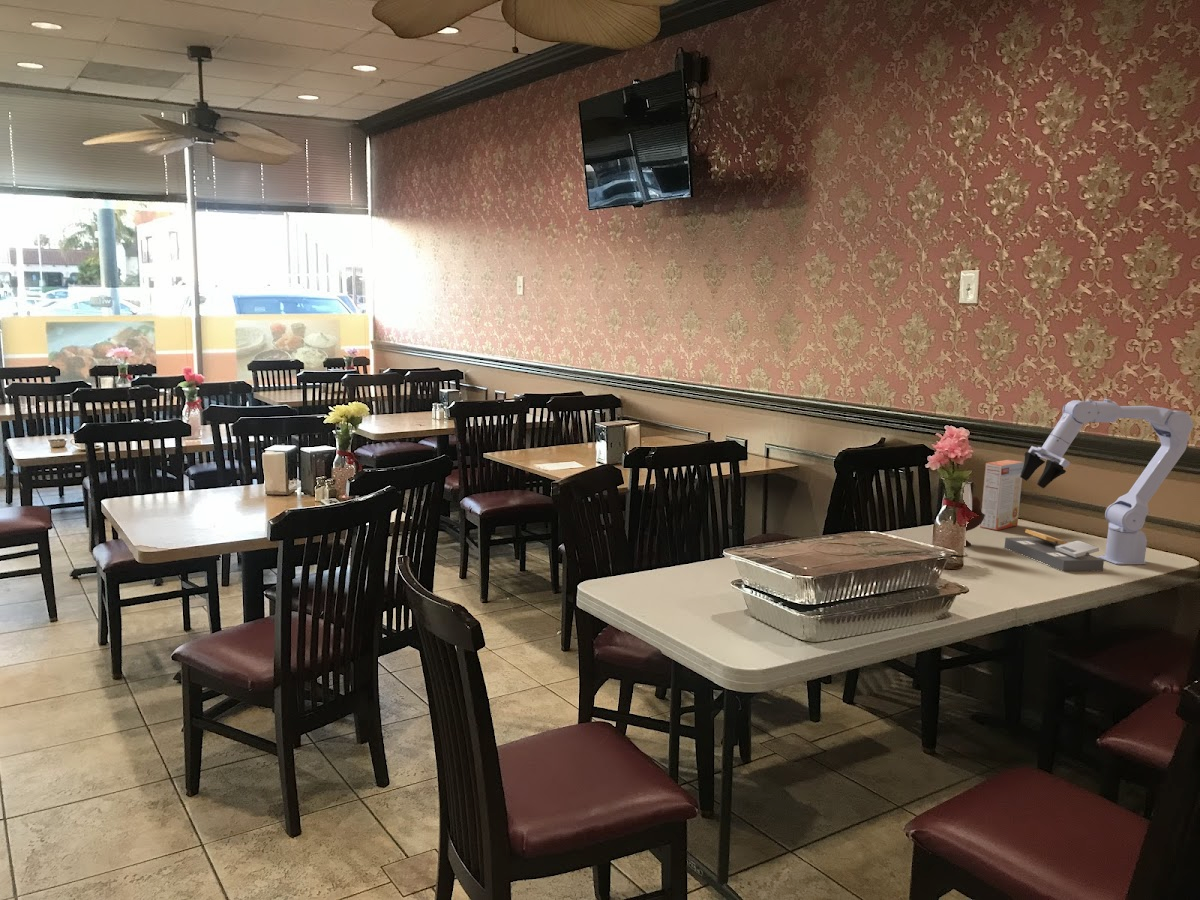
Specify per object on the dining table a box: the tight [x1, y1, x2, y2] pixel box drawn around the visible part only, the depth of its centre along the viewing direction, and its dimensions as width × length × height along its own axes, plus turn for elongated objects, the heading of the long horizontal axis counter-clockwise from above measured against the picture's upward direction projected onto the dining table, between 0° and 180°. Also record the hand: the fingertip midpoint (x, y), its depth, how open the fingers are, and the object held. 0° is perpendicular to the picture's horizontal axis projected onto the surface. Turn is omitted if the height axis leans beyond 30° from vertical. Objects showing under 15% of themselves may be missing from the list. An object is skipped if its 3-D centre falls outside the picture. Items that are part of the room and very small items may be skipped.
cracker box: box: [979, 459, 1024, 531], centre depth 301 cm, size 14×6×21 cm, turn 130°
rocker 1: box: [1024, 528, 1069, 545], centre depth 268 cm, size 7×9×2 cm
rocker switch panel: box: [1003, 536, 1105, 572], centre depth 263 cm, size 16×25×3 cm, turn 12°
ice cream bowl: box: [966, 493, 985, 547], centre depth 275 cm, size 11×11×15 cm
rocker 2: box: [1055, 540, 1100, 558], centre depth 256 cm, size 7×8×2 cm
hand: (1031, 482), depth 261 cm, fingers open, 7 cm apart
